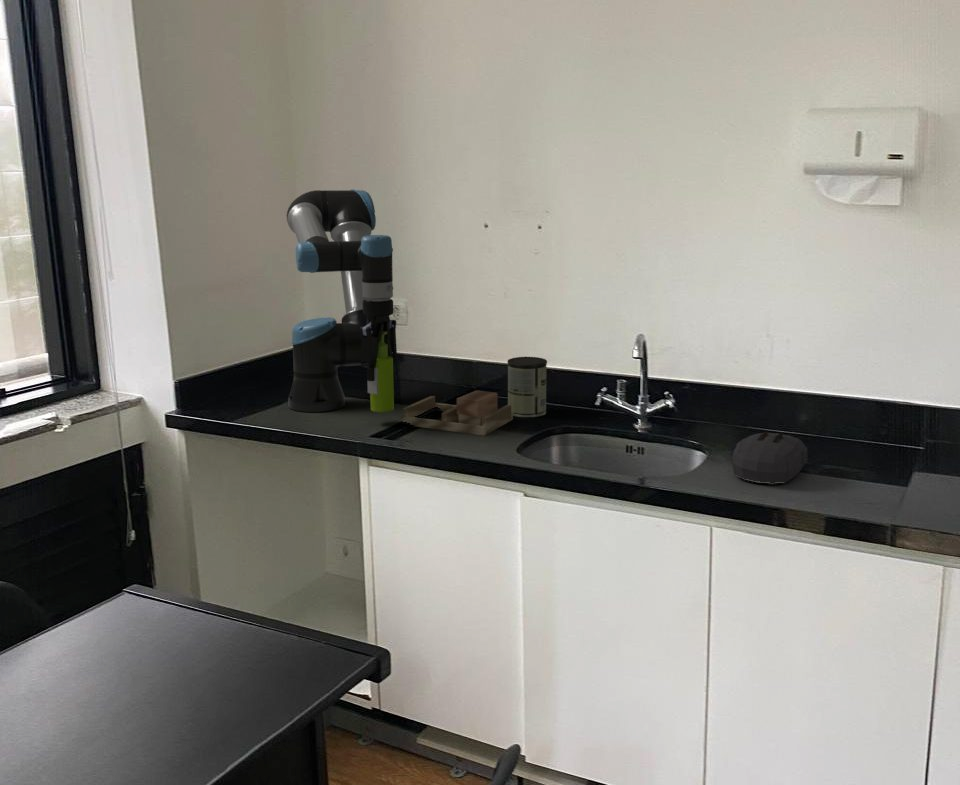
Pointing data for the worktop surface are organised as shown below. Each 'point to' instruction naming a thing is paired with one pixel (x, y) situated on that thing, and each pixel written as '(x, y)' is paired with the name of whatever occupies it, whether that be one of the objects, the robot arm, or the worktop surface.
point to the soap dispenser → (383, 380)
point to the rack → (454, 418)
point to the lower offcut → (473, 419)
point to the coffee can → (527, 386)
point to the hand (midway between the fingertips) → (380, 390)
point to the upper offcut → (477, 403)
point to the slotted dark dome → (769, 457)
